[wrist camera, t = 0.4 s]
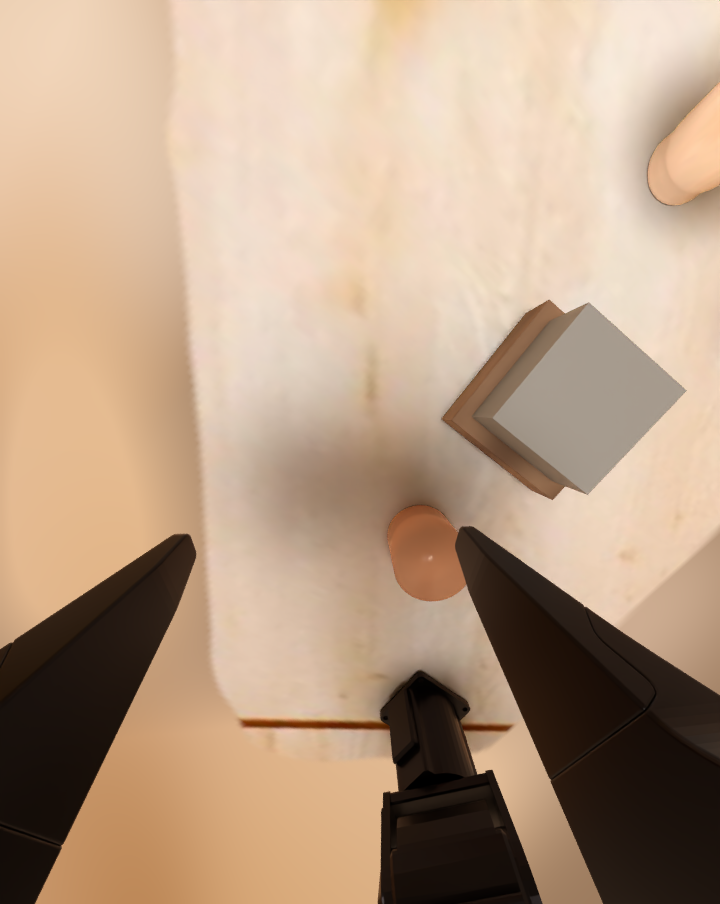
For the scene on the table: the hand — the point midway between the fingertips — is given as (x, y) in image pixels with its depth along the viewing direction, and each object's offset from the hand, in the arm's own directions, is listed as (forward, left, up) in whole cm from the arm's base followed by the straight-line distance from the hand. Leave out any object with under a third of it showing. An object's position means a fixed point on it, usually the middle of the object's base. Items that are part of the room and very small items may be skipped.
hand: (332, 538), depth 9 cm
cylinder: (-9, +2, -13) cm, 16 cm away
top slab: (-9, -12, -10) cm, 18 cm away
